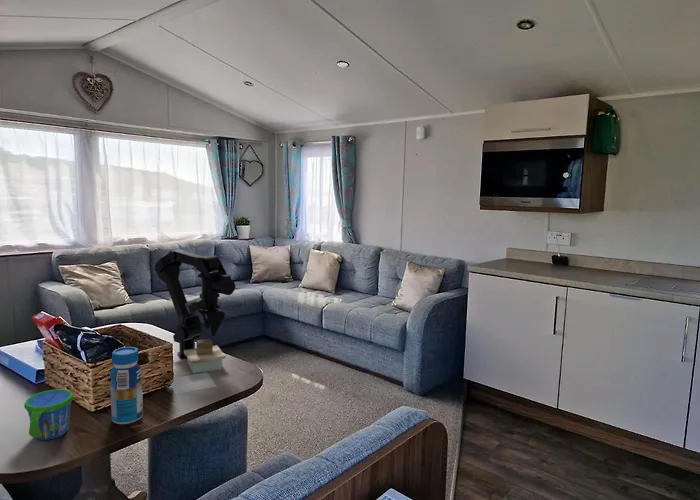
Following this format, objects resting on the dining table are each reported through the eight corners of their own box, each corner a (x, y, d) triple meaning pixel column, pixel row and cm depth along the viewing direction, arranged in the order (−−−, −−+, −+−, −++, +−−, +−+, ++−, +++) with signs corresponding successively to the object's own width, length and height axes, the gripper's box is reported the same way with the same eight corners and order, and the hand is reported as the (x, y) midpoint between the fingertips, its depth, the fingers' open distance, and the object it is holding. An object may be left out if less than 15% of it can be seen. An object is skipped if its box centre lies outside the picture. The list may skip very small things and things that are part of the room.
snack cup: (52, 451, 117) (50, 412, 116) (10, 449, 118) (7, 411, 116) (87, 419, 133) (86, 385, 131) (50, 418, 133) (48, 384, 132)
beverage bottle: (104, 420, 133) (101, 352, 130) (130, 408, 140) (128, 343, 137) (124, 428, 129) (121, 358, 126) (150, 415, 136) (148, 348, 133)
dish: (187, 365, 173) (187, 353, 173) (215, 360, 178) (214, 349, 178) (193, 375, 165) (193, 362, 164) (222, 370, 170) (222, 358, 169)
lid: (184, 352, 173) (183, 338, 172) (217, 347, 179) (216, 333, 178) (191, 364, 163) (190, 348, 162) (225, 358, 169) (225, 343, 168)
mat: (168, 380, 160) (168, 378, 160) (207, 373, 167) (207, 372, 167) (175, 395, 149) (175, 394, 149) (216, 387, 156) (216, 386, 156)
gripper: (181, 287, 176) (182, 327, 178) (192, 298, 160) (193, 343, 162) (212, 284, 181) (212, 324, 183) (225, 295, 165) (225, 338, 167)
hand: (210, 332), depth 174 cm, fingers open, 9 cm apart
